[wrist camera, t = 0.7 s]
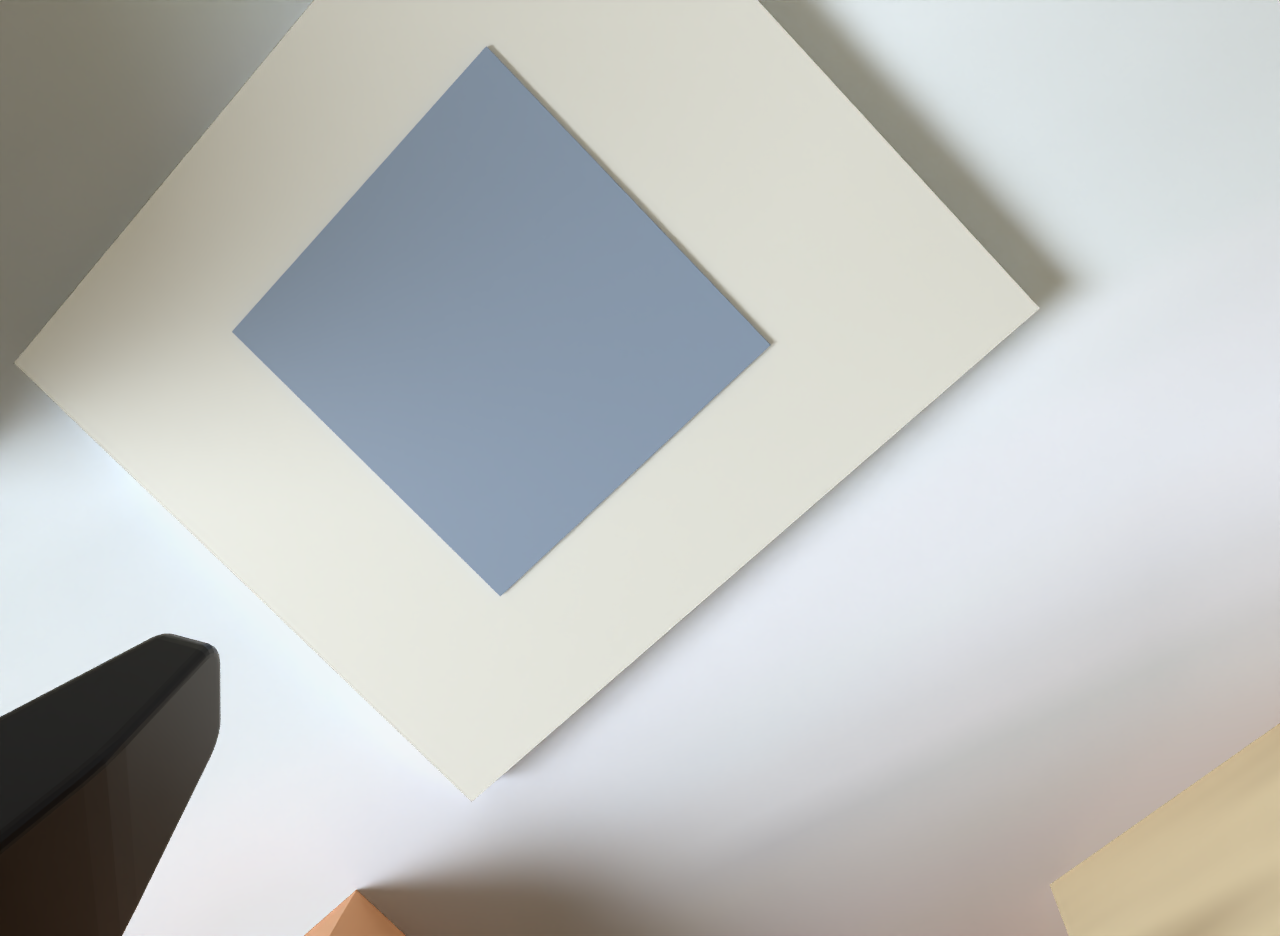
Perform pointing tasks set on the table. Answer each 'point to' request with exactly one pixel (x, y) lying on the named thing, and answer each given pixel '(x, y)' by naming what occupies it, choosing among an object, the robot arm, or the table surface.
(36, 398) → the table surface
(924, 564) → the table surface
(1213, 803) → the birch cube
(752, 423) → the cream flat panel
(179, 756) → the robot arm
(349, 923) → the terracotta cube
